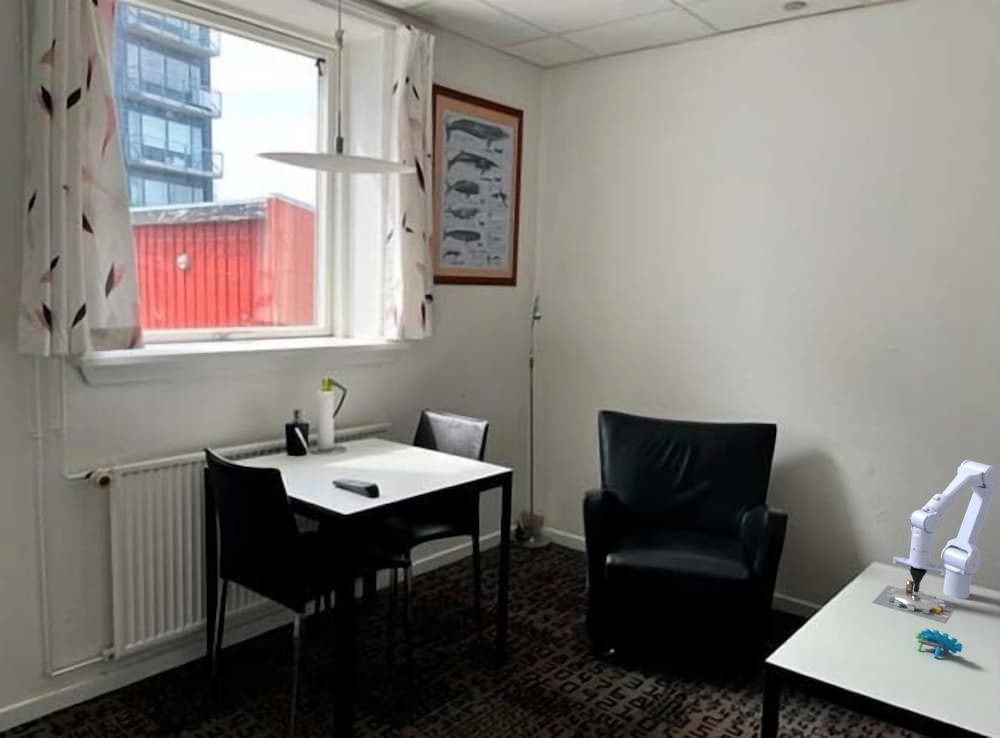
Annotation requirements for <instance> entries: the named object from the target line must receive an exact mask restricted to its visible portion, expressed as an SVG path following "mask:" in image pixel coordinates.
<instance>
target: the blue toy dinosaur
mask: <svg viewBox="0 0 1000 738" xmlns="http://www.w3.org/2000/svg"><path fill="white" fill-rule="evenodd" d="M915 638H916V639H917V640H918V641H917V643H919V644H918V647H917V649H916V650H917V651H918V652H922V651H921V650H922V647H923V646H929V647H932V648H935V652H934V655H933V658H934V659H939V657H940V654H941V650H943V652H944V653H949V652H952V653H953V654H957V653H958V652H959V653H961V652H962V650H963V644H962V643H961V642H958V639H957V638H955V637H951V639H950V638H949V634H948V633H946V632H942V634H941V633H940V631H939V630H938V629H933V630H930V629H929V628H925V629H924V630H921V632H916V634H915Z"/></svg>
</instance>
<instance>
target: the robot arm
mask: <svg viewBox="0 0 1000 738" xmlns="http://www.w3.org/2000/svg"><path fill="white" fill-rule="evenodd" d="M956 472H957V475H956V476H955V477H954V478H953V480H952V481H951V482H950V483H949V485H948V486H947V487H946V488H945V490H943V491H942V493H936V494H934V496H932V498H931V499H930V500H928V501H927V503H926V504H925V505H924V506H922V508H921V509H917V510H914V511H913V512H912V513H911V514H910V516H909V518H908V523H909V525H910V531H911V541H910V551H909V558H906V557H901V556H894V557H892V564H895V565H900V566H904V567H909V568H910V569H909V573H910V576H911V578H912V581H913V582H914V586H913V591H914V592H917V593H918V591H920V586H921V582H922V580H923V578H924V576H925V575H926V574H927V572H929V573H933V574H937V575H940V576H943V577H944V582H943V589H942V593H943V595H946V596H948V597H951V598H955V599H959V600H966V599H969V598H970V594H971V592H970V591H971V585H972V577H973V575H974V574H975V573H976V572H977V571H978V570H979V568H980V565H981V556H982V552H981V550H980V549H979V548H978V546H977V542H978V539H979V536H980V533H981V530H982V527H983V525H984V522H985V520H986V516H987V514H988V511H989V509H990V506H991V503H992V500H993V498H994V495H995V494H996V491H997V488H998V486H999V483H1000V471H999V469H998V467H996V466H995V465H990V464H989V465H988V464H985V463H982V462H977V461H975V460H974V461H973V460H971V459H966V460H963V462H962V463H961V464H960V465H959V466H958V467H957V471H956ZM969 487H970V488H971V490H972V496H971V498H970V500H969V503H968V506H967V509H966V511H965V515H964V517H963V520H962V523H961V525H960V528H959V530H958V534H957V536H956V537H955V538H953V539H950V540H948V541H947V543H946V546H945V547H943V549H942V551H941V554H940V561H941V562H942V563H943V566H944V567H942V566H940V565H937V564H933V563H931V557H932V550H933V540H934V532H936V531H937V530H938V529H939V527H940V523H941V522H942V519H943V517H944V516H946V514H947V513H948V512H949V511H950V510H951V509H952V508H953V501H954V500H955V499H956V498H957V497H959V496H960V495H961V494H962V493H964V492H965V491H966V490H967V489H968V488H969Z"/></svg>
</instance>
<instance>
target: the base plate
mask: <svg viewBox="0 0 1000 738" xmlns="http://www.w3.org/2000/svg"><path fill="white" fill-rule="evenodd" d="M893 588H896V589H899V590H902V588H899V587H896V586H891V585H887V586H886V587H885V588H884V589H883V590H882V591H881V592H880V593H879V594H878V595H877V596H876V597H875V598H874V599H873V600H872V601H871V604H875V605H878V606H882V607H885V608H888V609H893V610H896V611H900V612H903V613H907V614H910V615H914V616H916V617H921V618H923V619H924V618H925V619H927V620H931V621H935V622H938V623H941V624H946V623H947V622H948V621H949V619H950V617H951V616H952V614H953V612H954V611H955V610H956V608H957V606H958V605H959V604H958V603H955V602H952V601H948V600H946V599H945V600H944V599H940V598H938V597H936V599H938V600H942V601H944V605H946V606H945V611H941V613H938V614H936V613H934V612H929V614H927V613H922V612H921V611H918V610H914V611H910V610H907V608H906V607H903V606H901V607H898V606H896V605H894V602H892V601H888V600H887V596H886V593H887V591H888V590H889V591H891V589H893Z"/></svg>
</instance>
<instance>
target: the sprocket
mask: <svg viewBox="0 0 1000 738" xmlns="http://www.w3.org/2000/svg"><path fill="white" fill-rule="evenodd" d="M896 588H897V587H896ZM896 588H893V589H891V591H889V590H888V591H887V593H886V596H887V600H888V601H892V602H894V605H896V606H898V607H901V606H903V607H906V608H907V610H910V611H914V610H918V611H921V612H922V613H927V614H929V612H934V613H936V614H938V613H941V611H945V606H946V605H944V601H942V600H943V599H941V600H938V599H939V598H937V596H936V595H933V594H926V593H924V591H922V590H919V591H918V593H917V592H914V581H913V580H912V579H911V580H909V579H908V580H907V579H906V583H905V588H901V589H902V590H899V589H896ZM936 598H937V599H936Z"/></svg>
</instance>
